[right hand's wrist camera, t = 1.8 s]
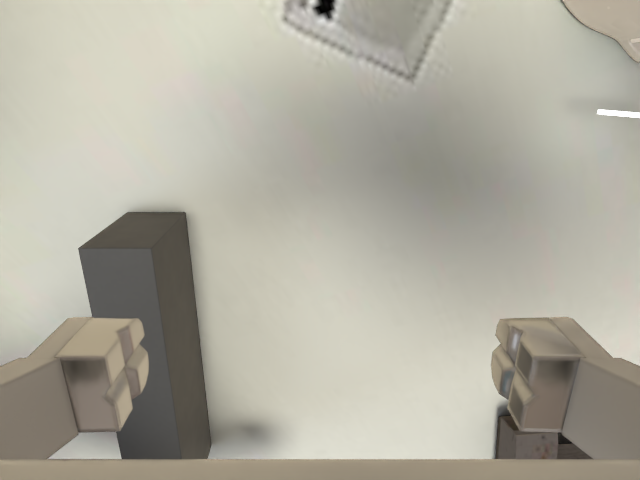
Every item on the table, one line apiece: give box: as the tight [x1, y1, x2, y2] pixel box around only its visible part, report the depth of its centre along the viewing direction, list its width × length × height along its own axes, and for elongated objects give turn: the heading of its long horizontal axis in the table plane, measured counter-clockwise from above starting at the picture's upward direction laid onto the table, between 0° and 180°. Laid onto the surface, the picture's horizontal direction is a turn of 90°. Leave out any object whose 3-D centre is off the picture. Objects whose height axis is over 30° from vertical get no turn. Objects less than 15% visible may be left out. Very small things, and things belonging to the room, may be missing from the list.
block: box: [79, 213, 211, 459], centre depth 42 cm, size 28×5×9 cm, turn 0°
